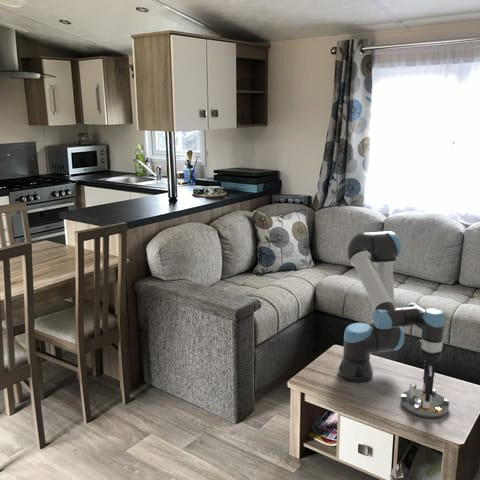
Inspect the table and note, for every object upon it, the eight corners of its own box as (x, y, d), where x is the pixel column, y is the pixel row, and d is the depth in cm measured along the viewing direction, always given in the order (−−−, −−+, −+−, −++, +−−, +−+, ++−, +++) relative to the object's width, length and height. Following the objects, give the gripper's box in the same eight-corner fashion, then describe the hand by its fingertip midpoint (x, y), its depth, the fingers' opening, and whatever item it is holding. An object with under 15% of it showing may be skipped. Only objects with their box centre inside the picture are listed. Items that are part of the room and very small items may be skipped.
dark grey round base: (419, 422, 192) (421, 398, 189) (391, 397, 209) (393, 375, 206) (458, 414, 197) (461, 391, 194) (428, 390, 214) (430, 369, 211)
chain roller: (418, 407, 198) (419, 395, 197) (423, 403, 200) (424, 391, 199) (428, 411, 195) (429, 399, 194) (432, 407, 198) (433, 395, 196)
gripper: (419, 338, 201) (415, 390, 207) (421, 358, 184) (416, 414, 190) (439, 340, 199) (434, 393, 205) (443, 361, 182) (438, 418, 188)
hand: (426, 403), depth 197 cm, fingers open, 5 cm apart
